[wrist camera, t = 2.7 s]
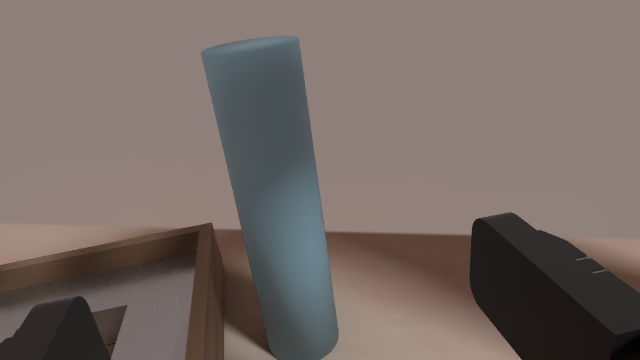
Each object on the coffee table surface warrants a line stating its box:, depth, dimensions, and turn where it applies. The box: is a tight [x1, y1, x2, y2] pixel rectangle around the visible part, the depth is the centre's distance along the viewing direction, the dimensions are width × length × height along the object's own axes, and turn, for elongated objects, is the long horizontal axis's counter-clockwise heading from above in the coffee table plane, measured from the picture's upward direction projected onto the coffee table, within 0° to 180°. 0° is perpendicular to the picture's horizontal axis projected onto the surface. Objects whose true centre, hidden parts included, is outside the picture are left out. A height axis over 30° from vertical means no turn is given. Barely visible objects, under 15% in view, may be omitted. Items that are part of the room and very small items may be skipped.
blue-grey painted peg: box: [201, 36, 339, 360], centre depth 21 cm, size 4×4×16 cm
